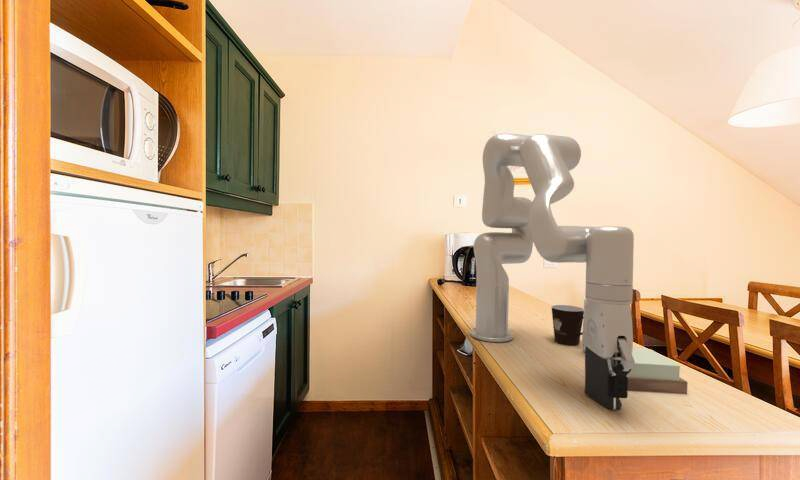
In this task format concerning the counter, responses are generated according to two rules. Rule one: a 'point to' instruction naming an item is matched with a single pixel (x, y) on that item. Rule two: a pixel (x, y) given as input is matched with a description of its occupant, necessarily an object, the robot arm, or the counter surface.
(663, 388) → the tower base
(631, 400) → the counter surface
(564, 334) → the coffee mug
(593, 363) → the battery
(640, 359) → the tower top
